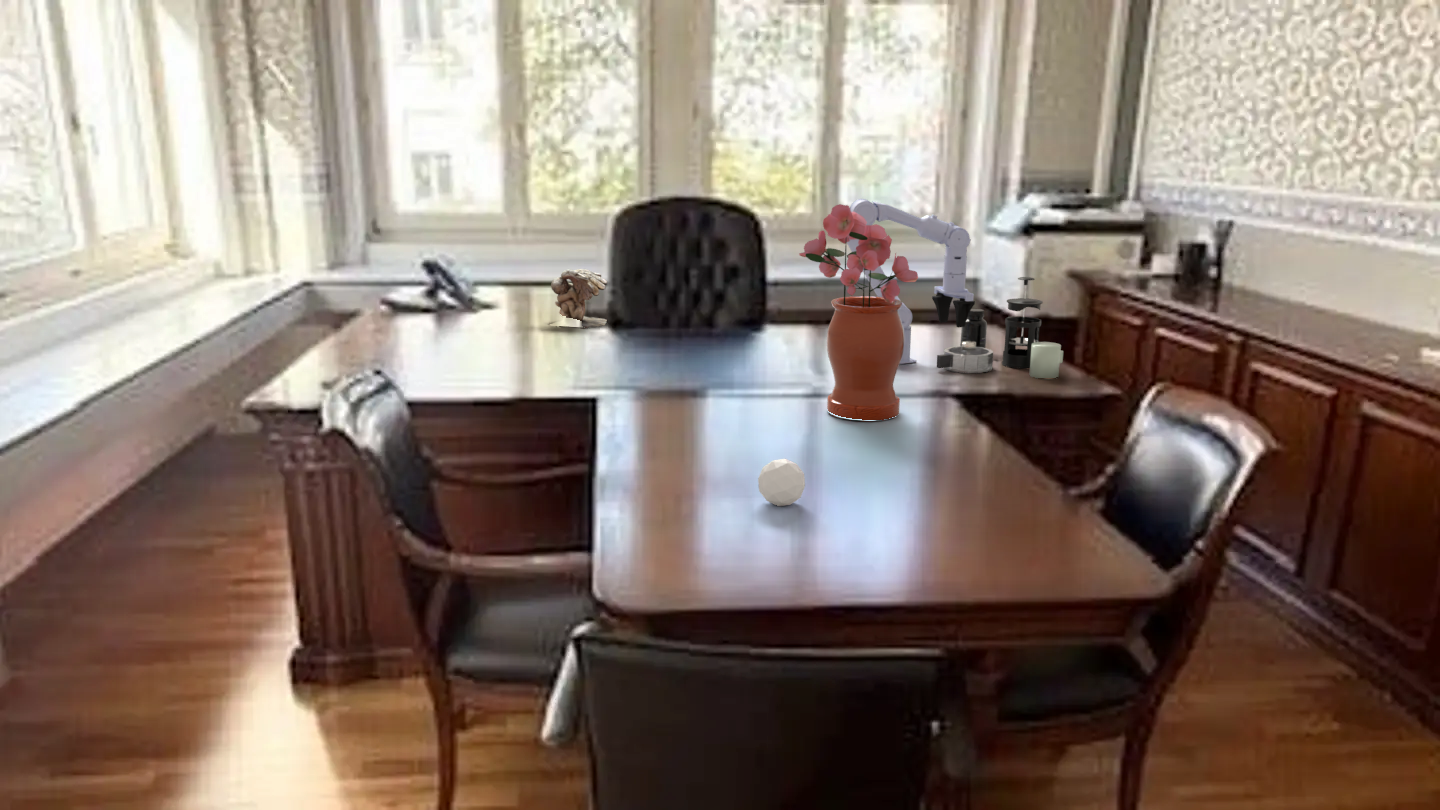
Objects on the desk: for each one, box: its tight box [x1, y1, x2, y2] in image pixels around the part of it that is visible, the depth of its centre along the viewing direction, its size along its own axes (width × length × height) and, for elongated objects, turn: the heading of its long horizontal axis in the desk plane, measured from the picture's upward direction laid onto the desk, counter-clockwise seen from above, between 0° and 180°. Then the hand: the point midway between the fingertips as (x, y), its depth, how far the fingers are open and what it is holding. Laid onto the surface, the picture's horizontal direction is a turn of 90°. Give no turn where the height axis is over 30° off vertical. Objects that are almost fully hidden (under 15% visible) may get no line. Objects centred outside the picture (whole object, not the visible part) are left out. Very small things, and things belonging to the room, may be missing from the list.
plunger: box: [962, 341, 976, 355], centre depth 271 cm, size 9×9×6 cm
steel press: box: [936, 345, 994, 374], centre depth 270 cm, size 15×12×5 cm
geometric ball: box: [757, 458, 806, 507], centre depth 174 cm, size 8×8×8 cm
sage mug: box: [1028, 341, 1064, 379], centre depth 262 cm, size 9×7×8 cm
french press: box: [1001, 276, 1044, 370], centre depth 273 cm, size 12×9×23 cm
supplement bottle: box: [959, 308, 988, 348], centre depth 288 cm, size 7×7×12 cm
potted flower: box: [798, 203, 919, 421], centre depth 226 cm, size 19×25×45 cm
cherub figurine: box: [550, 268, 608, 329], centre depth 335 cm, size 18×18×18 cm
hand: (951, 324), depth 277 cm, fingers open, 7 cm apart
